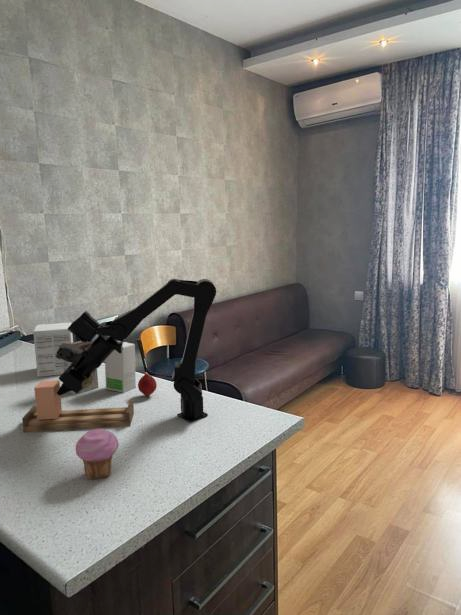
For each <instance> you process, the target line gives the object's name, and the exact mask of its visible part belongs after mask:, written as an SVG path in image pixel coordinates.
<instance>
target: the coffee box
mask: <svg viewBox="0 0 461 615" xmlns="http://www.w3.org/2000/svg"><path fill="white" fill-rule="evenodd" d="M92 343H93V341H92V340H91V341H90V342H88V341H87V342H85V341H84V342H82V341H81V340H77V341H73V343H68V344H69V345H71V346H74V347H77V348H79V349H81V350H84V349H85V348H88V347H89V346H90V345H91V344H92ZM71 363H72V362H68V361H65V360H63V368H64V371H65V370H66V369H67V368H68V367H69V366H71V365H70V364H71ZM84 377H85V376H84ZM98 377H99V376H98V368H97V369H96V370H95V371H94V372H93V373H92V375H91V376H90V377H89V378H88V379H87V378H86V377H85V378H86V381H85V385H84V386H83V388H82V389H81V390H80V391H79V392H78V393H75V392H74V391H73V390H72V391H69V392H68V393H69V394H73V395H75V396H76V395H79V394H82V393H85V392H88V391H90V390H94V389H97V388H99V378H98Z"/></svg>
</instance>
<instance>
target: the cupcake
mask: <svg viewBox="0 0 461 615" xmlns="http://www.w3.org/2000/svg"><path fill="white" fill-rule="evenodd" d="M118 449H119V440H118V437H117V436H116V434H114V432H111V431H110V430H108V429H106V428H105V429H104V428H92V429H90V430H88V431H86V432H85V433H84V434H83V435H82V436H81V437H80V438H79V439H78V440H77V442H76V444H75V454H76V456H77V457H78V458H79V459H81V460H82V462H83V466H84V468H83V469H84V475H85V477H86V478H87V479H89V480H95V479H99V478H101V479H102V478H108V477H110V476H111V472H112V461H113V460H112V459H113V456H114V454H116V452H117V450H118Z"/></svg>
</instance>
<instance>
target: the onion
mask: <svg viewBox="0 0 461 615" xmlns="http://www.w3.org/2000/svg"><path fill="white" fill-rule="evenodd" d="M137 383H138V384H137V388H138V391H139V392H140V393H142V394H143V395H144V396H145V397H149V396H151V395H152V394H153V393H155V391H156V390H157V386H158V385H157V381H156V380H155V378H154V377H153V376H152V375H150V374H149V373H148V372H144V375H142V377H141V378H139V381H138V382H137Z"/></svg>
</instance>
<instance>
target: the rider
mask: <svg viewBox="0 0 461 615" xmlns="http://www.w3.org/2000/svg"><path fill="white" fill-rule="evenodd" d="M60 383H61V381H60V380H59V379H57V380H41V381H39V382H38V383H37V385H35V387H33V389H34V390H33V391H34V400H35V406H36V412H37V420H42V419H56V418H57V417H59V414H60V413H61V411H63V407H62V395H60V396H59V395H58V394H57V392H58V390H59V389H60V387H61V384H60Z"/></svg>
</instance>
